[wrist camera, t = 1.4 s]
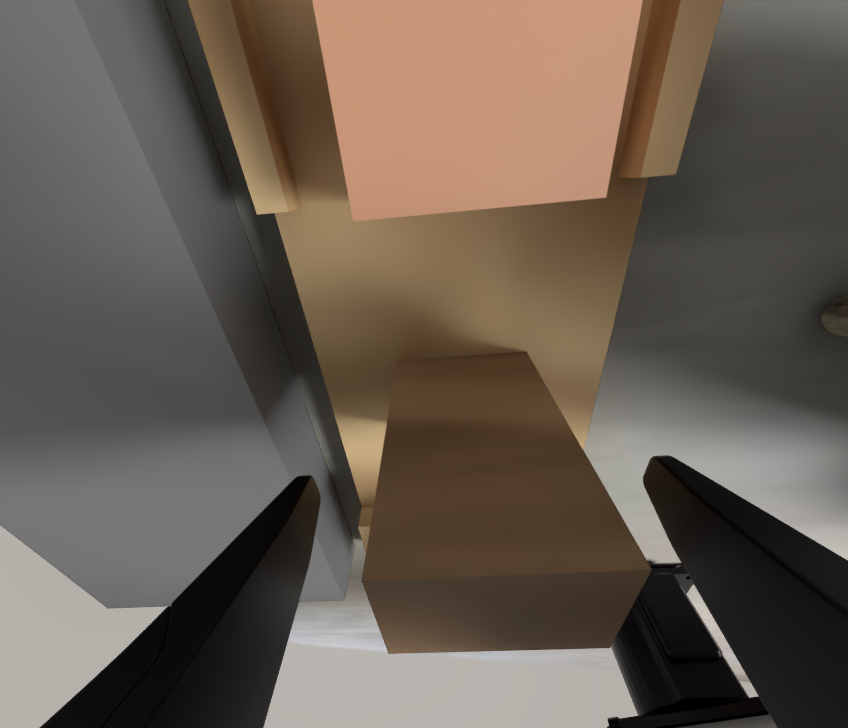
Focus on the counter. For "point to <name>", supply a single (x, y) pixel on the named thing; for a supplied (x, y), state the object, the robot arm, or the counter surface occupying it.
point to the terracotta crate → (475, 100)
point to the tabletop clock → (836, 316)
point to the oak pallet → (462, 343)
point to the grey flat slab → (134, 319)
